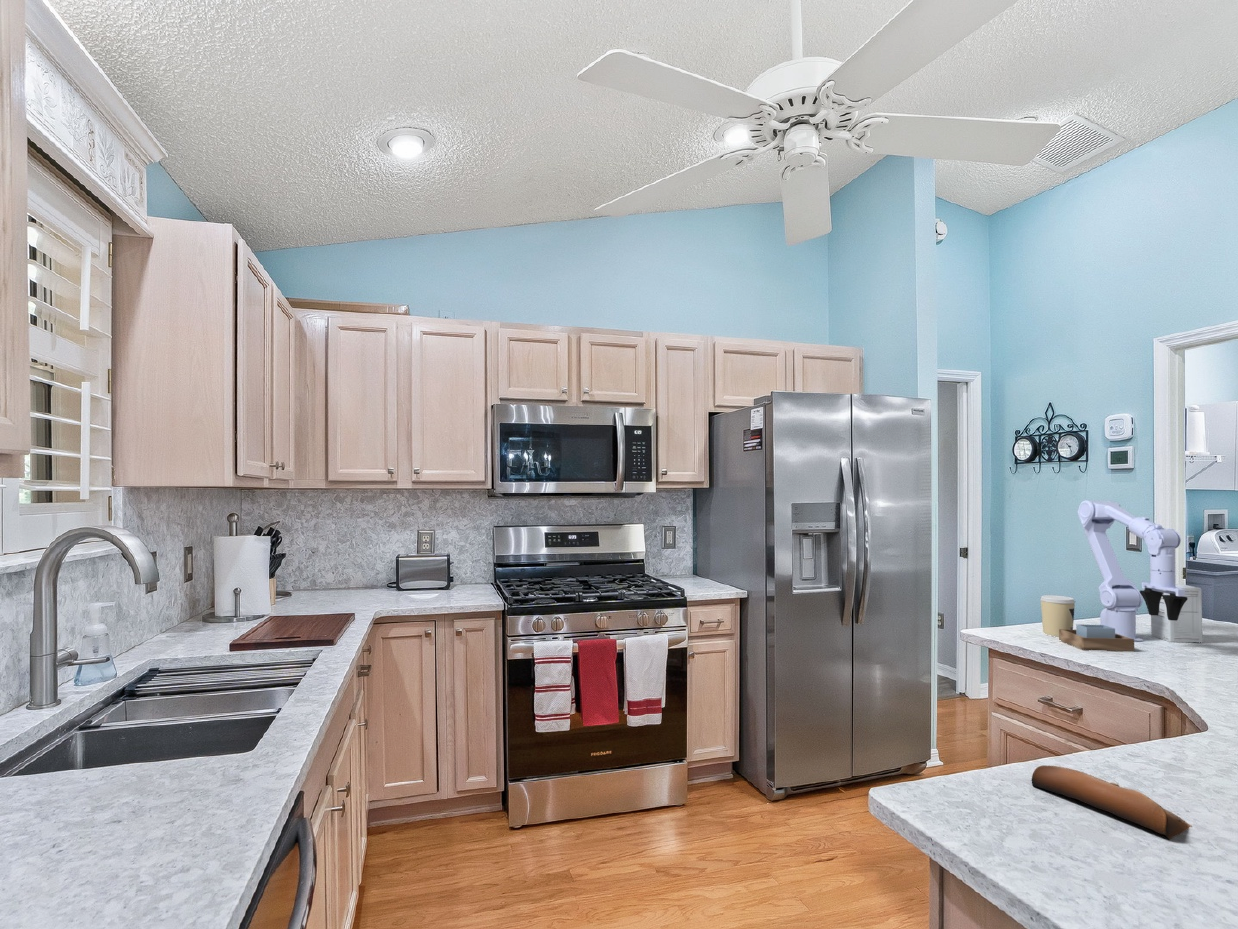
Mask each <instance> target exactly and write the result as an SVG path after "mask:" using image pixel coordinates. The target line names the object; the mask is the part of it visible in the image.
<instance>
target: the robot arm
mask: <svg viewBox="0 0 1238 929" xmlns="http://www.w3.org/2000/svg"><path fill="white" fill-rule="evenodd" d="M1077 516H1078V519H1079V521H1080V522H1081V526H1082V528H1083V531H1084V535H1085V538H1086V539H1087V543H1088V545H1089V547H1090V549H1091V551H1092V555H1093V557H1094V559H1095V562H1096V564H1097V567H1098V569H1099V571H1100V574H1101V576H1102V579H1103V581H1102V582H1101V584H1100V585H1099V586H1098V588H1097V589H1098V591H1099V599H1100V602H1101V604H1102V606H1104V608H1103V609H1102V610H1101V612H1100V615H1099V619H1100V620H1099V623H1100V624H1099V625H1106V626H1109V627H1112V628H1115V633H1116V634H1119V635H1122V636H1125V637H1128V638H1131V639H1134V642H1144V640H1143V639H1142V638H1139V637H1137V634H1136V633H1137V632H1136V631H1137V627H1136V626H1137V624H1136V623H1137V622H1136V621H1137V617H1136V612H1138V611H1139V608H1140V607H1142V605H1143V601H1144V602H1145V606H1146V609H1147V612H1148V614H1149V615H1150V616H1151V615H1158V614H1159V605H1160V600H1161V597H1163V599H1164V601H1165V604H1166V608H1167V617H1168V620H1174V621H1177V620H1178V617H1179V614H1180V611H1181V609H1182V607H1183V605H1184V603H1185V602H1186V601H1187V600H1188V598H1187V597H1185V590H1184V589H1181V588H1178V587H1175V584H1176V549H1178V548H1179V546H1180V545H1181V542H1182V541H1181V540H1182V539H1181V535H1180V534H1179V532H1178V531H1176V529H1174V528H1165V527H1163V526H1162V525H1161V524H1157V523H1155V522H1153V521H1152V520H1151V519H1150V517H1148V516H1138V517H1136V516H1135V515H1134V514H1132V513H1130V512H1129V511H1127V510H1126V509H1124V508H1123V507H1121V504H1120V503H1118V502H1116V501H1113V500H1087V499H1086V500H1083V501H1081V503H1080V504H1079V506H1078V509H1077ZM1115 521H1116V522H1119V523H1120V524H1122V525H1124V526H1126V527H1128V531H1129V532H1130V533H1131V534H1133V535H1134V536H1136V537H1138V538H1140V539H1141V540H1143V541H1144V543H1145V545H1146V547H1147V552H1148V554H1149V562H1150V563H1149V564H1150V565H1149V566H1150V568H1149V570H1150V573H1149V574H1150V576H1149V577H1150V579H1149V581H1150V582H1149V581H1145V582H1143V581H1142V582H1141V589H1142V590H1139V589H1138V588H1137V586H1136V585H1135V583H1134V582H1133V581H1131V580H1130V579H1128V578H1126V577H1125V575H1124V573H1123V571H1122V569H1121V567H1120V564H1119V562H1118V559H1117V557H1116V554H1115V552H1114V550H1113V547H1112V545H1111V542H1110V540H1109V537H1108V535H1107V533H1106V532H1107V530H1109V529H1110V528H1111V527H1112V526H1113V524H1114V522H1115ZM1158 589H1160V590H1158ZM1163 590H1165V591H1163ZM1163 593H1167V594H1170V595H1163Z"/></svg>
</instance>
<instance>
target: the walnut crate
mask: <svg viewBox="0 0 1238 929" xmlns="http://www.w3.org/2000/svg"><path fill="white" fill-rule="evenodd" d="M1058 640H1061V641H1062V643H1064V644H1066V643H1067V645H1069V644H1071V645H1073V646H1072V647H1074V646H1075V647H1074V648H1076V647H1077V649H1079V650H1082V651H1089V650H1107V651H1106V652H1123V651H1134V652H1135V641H1134V639H1131V638H1128V637H1125V636H1122V635H1119V634H1116V633H1115V638H1085V637H1082V636H1079V635H1076V629H1073V630H1068V629H1059V638H1058ZM1061 641H1060V642H1061ZM1071 645H1070V646H1071Z"/></svg>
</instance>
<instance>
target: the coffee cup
mask: <svg viewBox="0 0 1238 929" xmlns="http://www.w3.org/2000/svg"><path fill="white" fill-rule="evenodd" d="M1039 601H1040V608H1041V620H1042V633H1043V632H1044V633H1045V634H1047V635H1051V636H1055V637H1054V638H1056V637H1059V629H1068V630H1074V620H1075V606H1076V605H1075V604H1076V601H1075V599H1074V598H1073V597H1069V596H1063V595H1055V594H1053V595H1051V594H1045V595H1043V594H1042V595H1041V597H1040V599H1039Z"/></svg>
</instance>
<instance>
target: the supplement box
mask: <svg viewBox="0 0 1238 929" xmlns="http://www.w3.org/2000/svg"><path fill="white" fill-rule="evenodd" d="M1175 587H1178V588H1181V589H1184V590H1185V597H1187V598H1188V600H1187V601H1186V602H1185V603H1184V605H1183V607H1182V609H1181V611H1180V614H1179V617H1178V620H1177V621H1174V620H1168V617H1167V608H1166V604H1165V601H1164V599H1163V597H1161V600H1160V605H1159V614H1158V615H1150V628H1151V629H1150V630H1151V631H1150V633H1151V635H1150V636H1151V637H1154V638H1156V639H1160V638H1161V640H1163V639H1164V640H1163V641H1167V642H1169V643H1186V642H1199V643H1198V644H1203V604H1202V603H1203V602H1202V601H1203V599H1202V594H1203V593H1202V592H1203V591H1202V588H1201V587H1197V586H1193V585H1187V584H1184V583H1175ZM1158 590H1160V589H1158ZM1163 591H1165V590H1163ZM1163 595H1170V594H1167V593H1163ZM1200 642H1201V643H1200Z"/></svg>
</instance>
